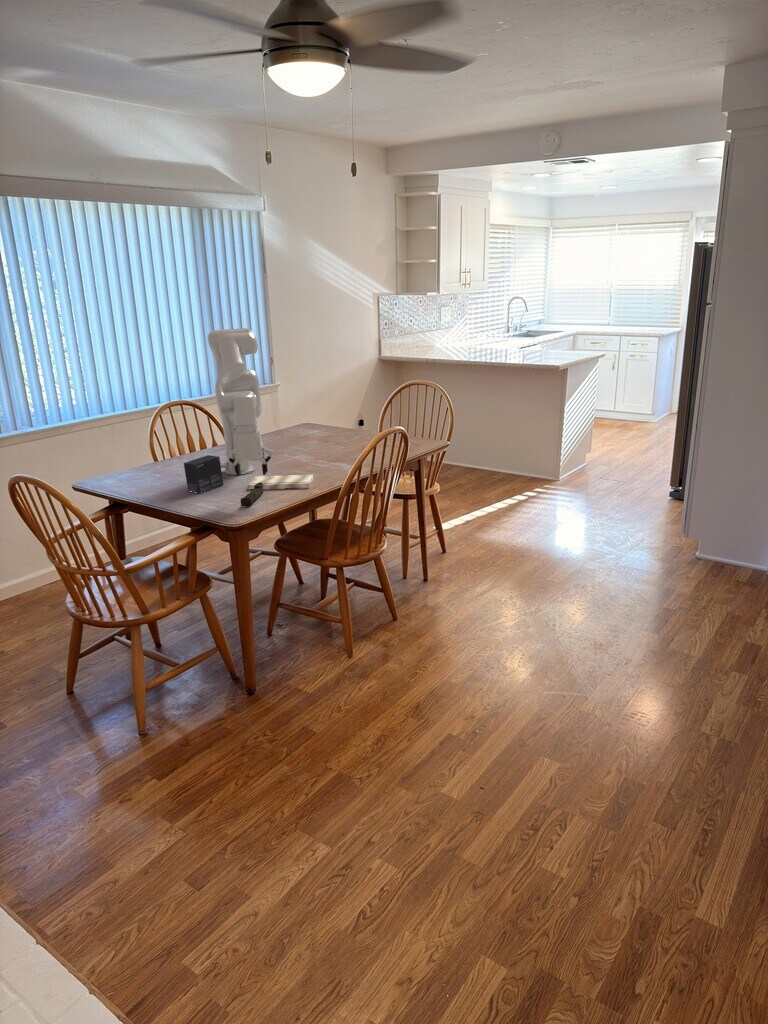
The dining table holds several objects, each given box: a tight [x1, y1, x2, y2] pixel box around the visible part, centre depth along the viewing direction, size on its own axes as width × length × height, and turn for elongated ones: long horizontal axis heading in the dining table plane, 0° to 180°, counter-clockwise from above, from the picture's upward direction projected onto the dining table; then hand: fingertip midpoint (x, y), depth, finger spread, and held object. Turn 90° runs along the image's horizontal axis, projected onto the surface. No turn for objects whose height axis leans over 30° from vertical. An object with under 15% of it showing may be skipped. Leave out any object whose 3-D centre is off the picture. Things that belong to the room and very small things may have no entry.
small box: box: [183, 454, 224, 494], centre depth 279 cm, size 13×7×12 cm, turn 147°
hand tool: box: [240, 482, 264, 508], centre depth 264 cm, size 19×4×5 cm, turn 168°
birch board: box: [247, 474, 314, 491], centre depth 281 cm, size 24×12×2 cm, turn 88°
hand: (251, 474), depth 261 cm, fingers open, 9 cm apart
